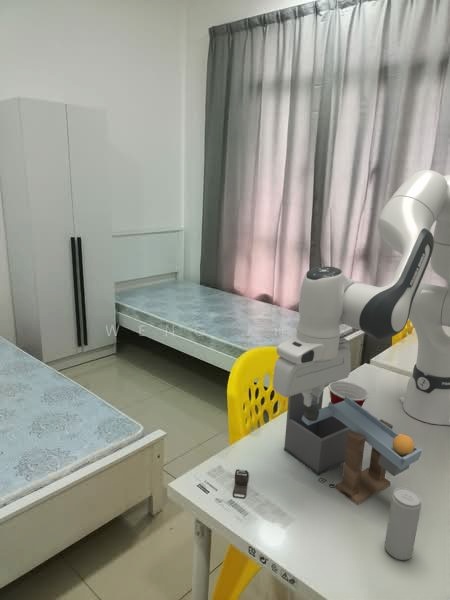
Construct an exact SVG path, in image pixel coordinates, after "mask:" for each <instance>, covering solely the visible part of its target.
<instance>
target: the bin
mask: <svg viewBox="0 0 450 600" xmlns="http://www.w3.org/2000/svg"><path fill="white" fill-rule="evenodd" d="M312 391H313V390H312ZM310 394H312V393H310ZM323 397H324V391H323V392H322V394H321V395H320V397H319V403H318V404H315V405H312V407H315V408H317V409H318V410H319V409H322V408H323V407H322V406H323V399H324V398H323ZM287 398H288V399H287V400H288V401H287V412H286V424H285V425H286V426H285V436H284V437H285V438H284V451H285V452H286V453H288V454H289V455H290V456H292V457H293V458H294V459H296V461H298V462H299V463H300V464H303V466H305V467H306V468H308V470H310V471H311V472H313V473H314V474H315V475H316V476H320V475H321V474H323V473H326V472H328V471H331V469H334V468H337V467H338V466H340V465H342V464H344V460H345V452H346V444H347V436H348V434H349V433H351V432H353V431H352V430H351V429H350V428H348V427H347V426H346V425H345V424H343V423H342V422H341V421H340V420H338V419H337V418H336V417H335V416H331V417H328V418H326V419H323V420H321V421H318V422H316V423H313V424H311V425H307V424H306V423H305V422H303V421H302V417H303V415H304V413H305V409H306V407H308V406H306V405H305V404H304V396H303V394H302V393H299V394H296V395H293V396H290V397H287Z"/></svg>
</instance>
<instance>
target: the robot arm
mask: <svg viewBox="0 0 450 600" xmlns="http://www.w3.org/2000/svg"><path fill="white" fill-rule="evenodd" d="M434 223H435V225H434ZM433 225H434V231H433V234H432V232H431V229H432V226H433ZM377 230H378V232H379V235H380V238H381V239H383V241H384V242H385V244H387V246H388V247H390V248H391V249H393V250H394V251H396V252H397V253H399V254H401V255H402V256H401V258H400V261H399V263H398V266H397V268H396V270H395V272H394V275H393V277H392V279H391V281H390V282H389V284H387V285H384V286H375V285H372V284H367V283H363V282H361V281H358V280H353V279H351V278H349V277H347V276H346V275H345V274H344V272H343V270H341V269H340V268H338V267H335V266H329V265H328V266H327V265H326V266H317V267H313V268H311V269H309V270H307V272H306V273H305V274H304V277H303V280H302V283H301V287H300V293H299V300H298V314H299V321H298V324H297V326H296V333H294V334H292V335H291V336H290V337H289V338H288V339H286V340H285V341H283V342H282V343H279V345H277V346H276V355H277V356H279V357H278V358H277V359H276V361H275V363H274V369H273V377H272V378H273V379H272V389H273V390H274V392H275V393H277V394H278V395H280V396H281V397H283V398H288V397H290V396H293V395H296V394H299V393H302V394H303V396H304V404H305V405H306V406H308V407H309V406H312V405H315V404H318V403H319V397H320V395H321V394H322V392H323V393H324V391H325V386H326V385H327V386H328V385H329V384H330V383H333V382H336V381H343V380H345V379H347V378H348V377H349V375H350V374H351V366H352V365H351V364H352V363H351V362H352V361H351V360H352V359H351V358H352V356H351V350H350V342H349V340H348V339H346V338H345V337H342V338H340V337H341V329H340V326H342V325H345V326H348V327H349V328H353V329H356V330H359V331H361V332H364V333H365V334H367V335H369V336H371V337H373V338H376V339H378V340H382V341H383V340H388V339H390V338H393V337H395V336H397V335H398V334H400V333H401V332H402V331H403V330H404V328H405V327H406V325H407V323H408V321H410V323H411V325H412V327H413V328H414V330H415V331H414V332H415V334H416V337H417V353H416V361H415V362H416V363H415V364H414V366H413V369H412V377H410V378H409V379H408V381H407V383H406V387H405V393H404V396H400V398H399V401H400V402H401V404H402V408H403V410H404V412H405V413H406V414H407V415H409V416H410V417H411V418H414V419H416V420H418V421H421V422H423V423H424V422H425V423H427V424H431V425H442V426H443V425H444V426H450V336H449V335H448V334H447V333H446V332H445V330H444V328H443V326H444V327H449V328H450V174H447V175H443V174H441V173H440V172H437V171H435V170H432V169H422V170H419V171H416V172H413V174H411V175H410V177H408V178H407V179H406V180H405V181H404V182H403V183H402V184H401V185H400V186H399V187H398V189H397V190H396V191H395V192H394V193H393V195H392V196H391V197H390V199H389V200H388V202H387V203H386V204H385V205H384V207H383V208H382V210H381V212H380V214H379V216H378V219H377ZM429 263H430V267H431V269H432V270H433V272H434V273H435V274H436V275H437V276H439V277H440V278H442V279H444V280H445V282H446V283H448V285H449V287H448V286H440V285H436V284H429V283H421V282H422V280H423V277H424V276H425V273H426V270H427V268H428V265H429ZM312 390H313V391H312ZM310 393H312V394H310Z"/></svg>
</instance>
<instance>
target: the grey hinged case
mask: <svg viewBox="0 0 450 600" xmlns="http://www.w3.org/2000/svg"><path fill="white" fill-rule="evenodd" d="M249 480H250V472H249V471H248V470H246V469H235V473H234V484H235V485H234V487H233V491H232V497H233V498H234V499H241V500H245V499H246V498H247V495H248V494H247V492H248V483H249ZM238 495H239V496H238ZM240 495H242V496H240Z"/></svg>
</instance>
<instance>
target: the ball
mask: <svg viewBox="0 0 450 600" xmlns="http://www.w3.org/2000/svg"><path fill="white" fill-rule="evenodd" d="M414 446H415V443H414V440H413V439H412V438H411V436H409V435H407V434H403V433H402V434H399V435H397V436H396V437H395V438H394V440H393V448H394V450H395V451H396V452H397V453H398V454H400V455H408V454H410V453H412V452H413V450H414Z"/></svg>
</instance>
